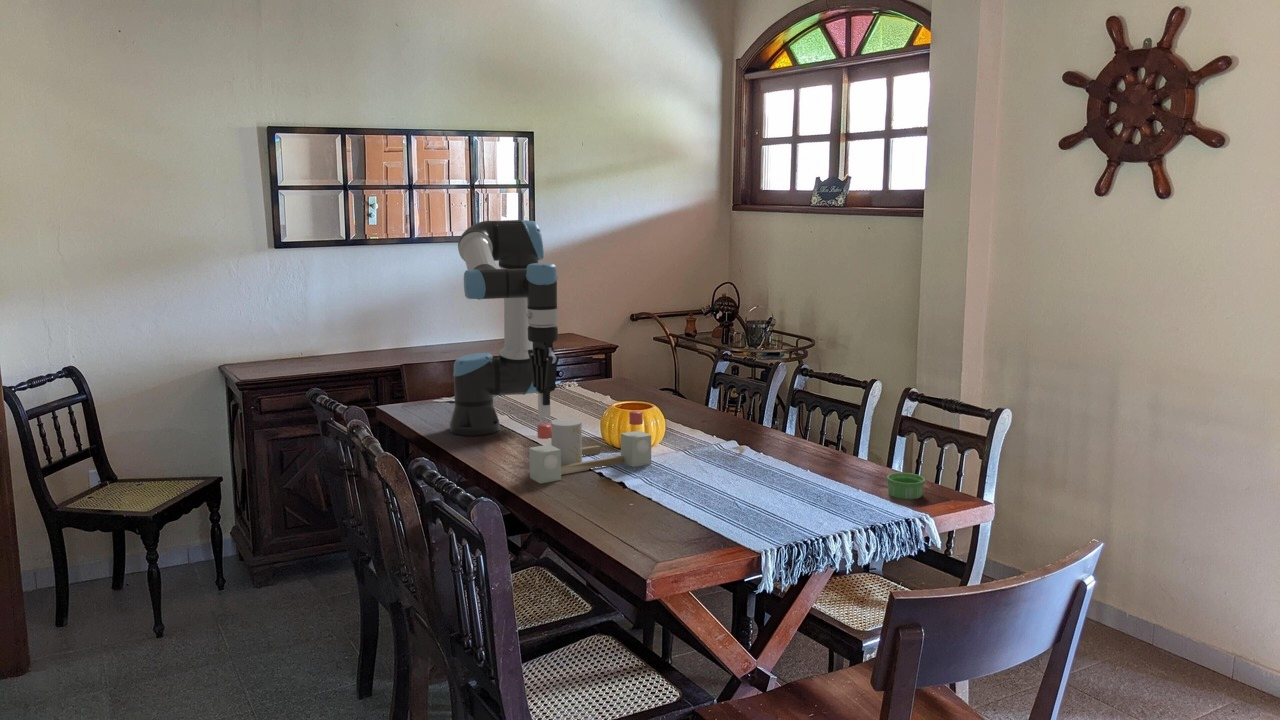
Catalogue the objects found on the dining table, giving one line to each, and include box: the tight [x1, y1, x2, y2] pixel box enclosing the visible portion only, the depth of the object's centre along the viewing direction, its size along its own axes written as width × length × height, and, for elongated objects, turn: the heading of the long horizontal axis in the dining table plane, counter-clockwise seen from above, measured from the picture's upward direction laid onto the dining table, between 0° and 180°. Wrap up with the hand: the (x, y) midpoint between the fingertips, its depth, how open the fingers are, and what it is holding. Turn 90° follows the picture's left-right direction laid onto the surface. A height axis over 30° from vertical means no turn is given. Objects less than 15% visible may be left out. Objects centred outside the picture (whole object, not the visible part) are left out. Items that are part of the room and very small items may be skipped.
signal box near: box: [528, 444, 562, 484], centre depth 258 cm, size 6×6×8 cm
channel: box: [561, 445, 624, 476], centre depth 273 cm, size 14×19×2 cm
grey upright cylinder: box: [550, 417, 583, 465], centre depth 270 cm, size 8×8×12 cm
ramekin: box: [886, 472, 926, 500], centre depth 245 cm, size 9×9×4 cm
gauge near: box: [536, 423, 552, 440], centre depth 256 cm, size 4×4×3 cm
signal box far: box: [620, 430, 652, 468], centre depth 272 cm, size 6×6×8 cm
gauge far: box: [628, 410, 644, 426], centre depth 271 cm, size 4×4×3 cm
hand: (544, 416), depth 256 cm, fingers closed
